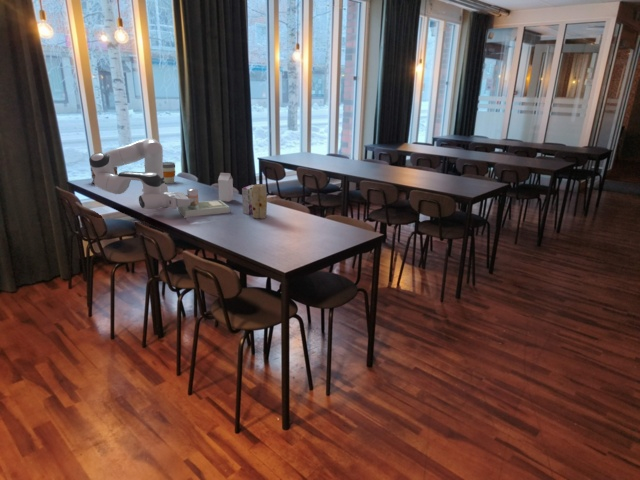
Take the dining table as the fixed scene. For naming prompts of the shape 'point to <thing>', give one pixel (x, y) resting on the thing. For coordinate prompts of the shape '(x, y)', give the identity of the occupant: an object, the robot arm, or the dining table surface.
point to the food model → (259, 201)
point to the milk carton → (225, 187)
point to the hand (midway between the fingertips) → (194, 197)
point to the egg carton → (214, 204)
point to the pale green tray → (204, 209)
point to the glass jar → (193, 194)
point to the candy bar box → (247, 199)
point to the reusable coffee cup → (168, 172)
